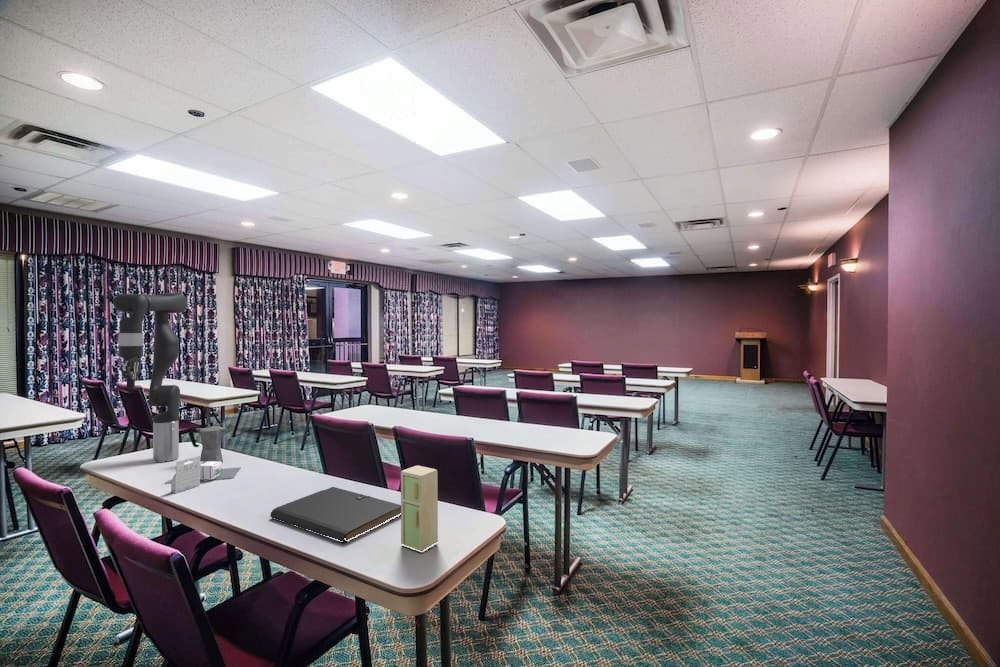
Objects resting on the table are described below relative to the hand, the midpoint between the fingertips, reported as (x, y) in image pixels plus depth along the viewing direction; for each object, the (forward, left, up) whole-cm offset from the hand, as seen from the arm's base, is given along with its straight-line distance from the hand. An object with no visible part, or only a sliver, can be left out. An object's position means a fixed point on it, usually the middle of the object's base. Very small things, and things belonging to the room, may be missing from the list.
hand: (130, 388), depth 182 cm
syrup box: (+4, +19, -32) cm, 37 cm away
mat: (+1, +30, -35) cm, 46 cm away
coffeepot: (-17, +21, -35) cm, 44 cm away
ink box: (+17, +28, -35) cm, 48 cm away
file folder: (+50, +87, -36) cm, 107 cm away
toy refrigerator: (+73, +113, -35) cm, 139 cm away
